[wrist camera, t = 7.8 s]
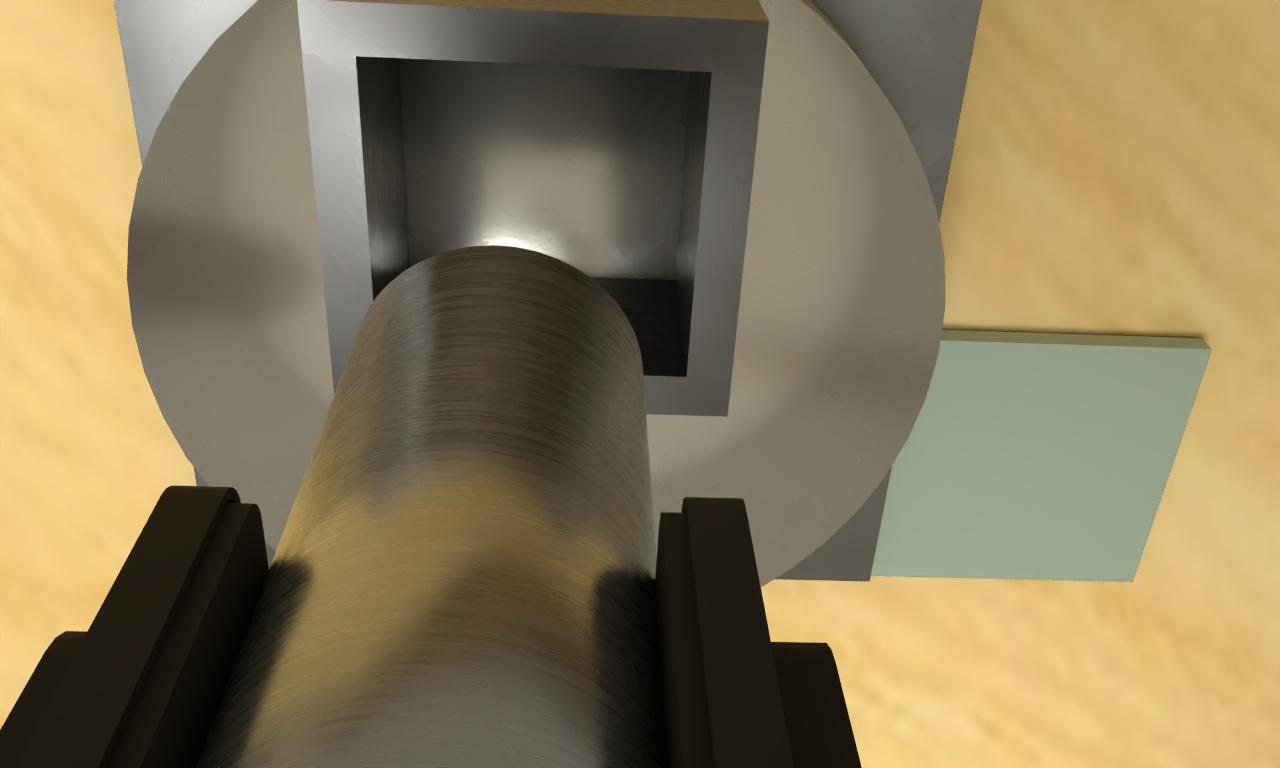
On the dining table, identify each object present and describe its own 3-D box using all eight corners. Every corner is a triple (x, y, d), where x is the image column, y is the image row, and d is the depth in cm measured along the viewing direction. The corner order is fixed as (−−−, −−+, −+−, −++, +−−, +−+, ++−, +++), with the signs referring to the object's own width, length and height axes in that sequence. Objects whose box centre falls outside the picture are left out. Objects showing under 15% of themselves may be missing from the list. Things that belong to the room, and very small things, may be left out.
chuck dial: (980, -90, 23) (1108, -19, 17) (857, 575, 32) (914, 774, 26) (108, -135, 22) (-67, -76, 17) (223, 561, 31) (133, 763, 25)
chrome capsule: (651, 250, 14) (821, 1942, 3) (636, 498, 16) (718, 2088, 5) (340, 239, 14) (-473, 1998, 3) (362, 492, 15) (-112, 2133, 5)
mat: (1201, 338, 30) (1211, 349, 30) (1124, 568, 34) (1132, 581, 33) (911, 328, 30) (916, 339, 29) (866, 562, 34) (870, 575, 33)
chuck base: (988, -126, 24) (1005, -119, 23) (861, 553, 33) (869, 581, 32) (108, -173, 23) (85, -167, 22) (223, 538, 33) (210, 566, 32)
